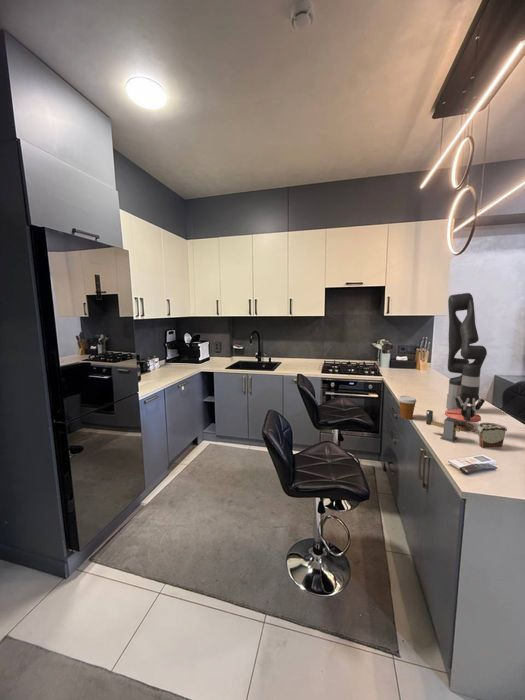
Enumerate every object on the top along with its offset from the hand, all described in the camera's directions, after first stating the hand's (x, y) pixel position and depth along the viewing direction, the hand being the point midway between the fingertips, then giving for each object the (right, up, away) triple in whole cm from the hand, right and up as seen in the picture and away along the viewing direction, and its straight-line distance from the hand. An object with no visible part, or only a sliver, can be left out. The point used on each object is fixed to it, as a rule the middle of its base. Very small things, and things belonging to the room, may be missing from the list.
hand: (467, 416), depth 149 cm
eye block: (-13, -10, -6) cm, 17 cm away
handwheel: (+2, -6, +7) cm, 10 cm away
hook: (-15, -5, -4) cm, 17 cm away
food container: (+1, -11, -12) cm, 16 cm away
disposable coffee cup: (-20, -6, +23) cm, 31 cm away
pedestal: (+2, -8, +8) cm, 11 cm away
